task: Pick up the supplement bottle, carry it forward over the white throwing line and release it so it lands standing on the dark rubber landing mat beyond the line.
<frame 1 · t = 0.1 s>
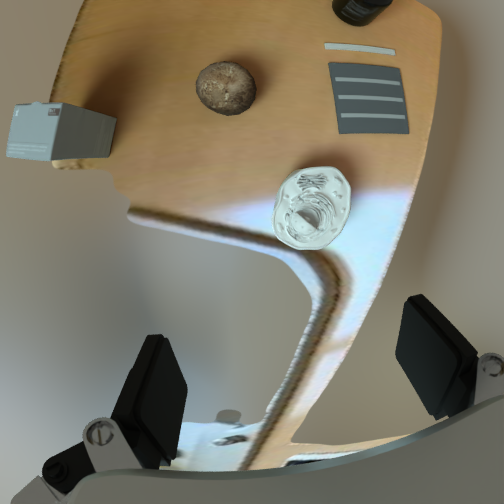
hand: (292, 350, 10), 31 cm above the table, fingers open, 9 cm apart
mushroom: (227, 93, 34), on the table
supplement bottle: (350, 11, 28), on the table
skincare box: (94, 133, 35), on the table
landing mat: (370, 98, 34), on the table
throwing line: (361, 48, 31), on the table
cell model: (305, 201, 40), on the table
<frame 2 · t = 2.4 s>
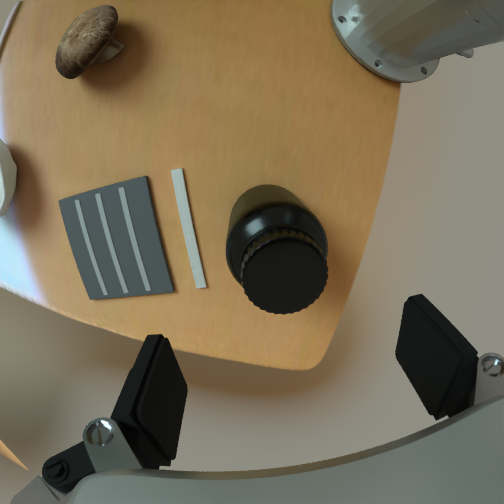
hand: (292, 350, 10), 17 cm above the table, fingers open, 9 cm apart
mushroom: (100, 48, 19), on the table
supplement bottle: (267, 218, 26), on the table
landing mat: (113, 243, 26), on the table
throwing line: (189, 231, 26), on the table
cell model: (5, 172, 23), on the table
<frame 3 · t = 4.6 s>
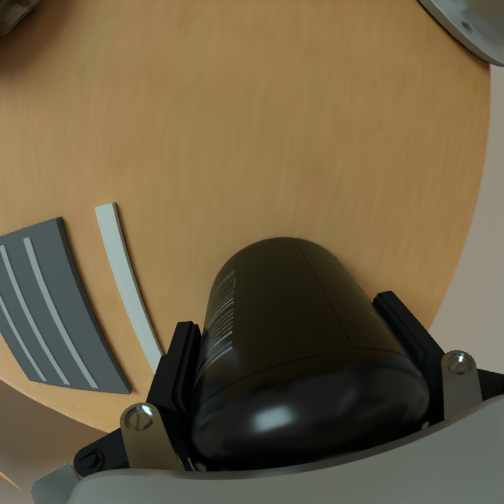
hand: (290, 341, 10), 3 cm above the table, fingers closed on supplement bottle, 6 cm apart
mushroom: (16, 16, 7), on the table
supplement bottle: (281, 297, 14), on the table, touching gripper
landing mat: (36, 319, 14), on the table
throwing line: (139, 314, 14), on the table
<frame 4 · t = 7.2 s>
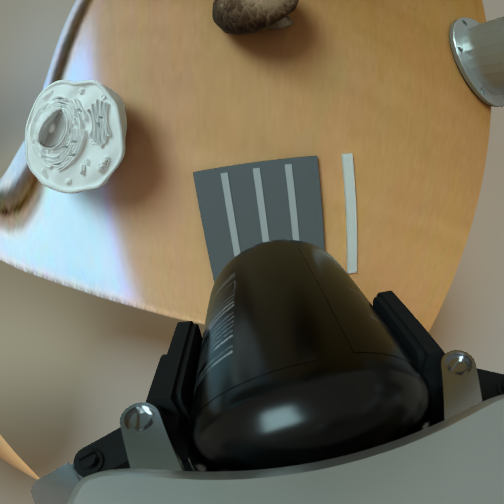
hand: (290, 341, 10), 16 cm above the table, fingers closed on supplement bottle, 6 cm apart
mushroom: (254, 15, 19), on the table
supplement bottle: (281, 299, 14), point 13 cm above the table, touching gripper
landing mat: (263, 226, 26), on the table
throwing line: (350, 215, 26), on the table
cell model: (95, 135, 22), on the table
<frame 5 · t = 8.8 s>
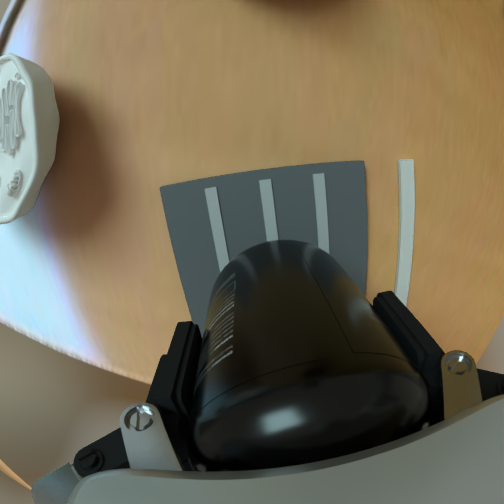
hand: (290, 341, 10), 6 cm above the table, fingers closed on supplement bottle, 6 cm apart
supplement bottle: (281, 299, 14), point 3 cm above the table, touching gripper
landing mat: (275, 273, 16), on the table
throwing line: (404, 253, 16), on the table
cell model: (29, 135, 13), on the table
when the fingers open (5 cm above the table, at t = 10.0 s): supplement bottle drops 1 cm, resting on landing mat.
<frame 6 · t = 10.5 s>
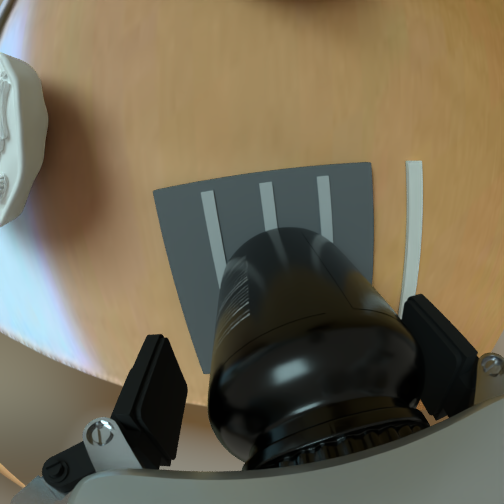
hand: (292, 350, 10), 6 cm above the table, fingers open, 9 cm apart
supplement bottle: (285, 283, 15), resting on landing mat
landing mat: (277, 281, 15), on the table
throwing line: (410, 259, 15), on the table
cell model: (19, 136, 12), on the table
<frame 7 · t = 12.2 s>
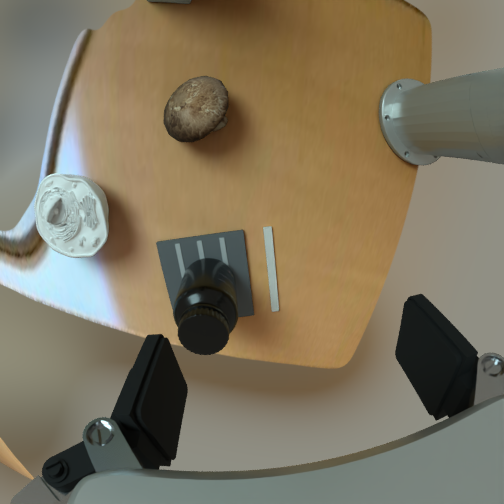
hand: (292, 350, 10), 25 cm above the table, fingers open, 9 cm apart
mushroom: (198, 112, 30), on the table
supplement bottle: (210, 280, 36), resting on landing mat
landing mat: (207, 279, 36), on the table
throwing line: (271, 271, 36), on the table
cell model: (86, 208, 32), on the table
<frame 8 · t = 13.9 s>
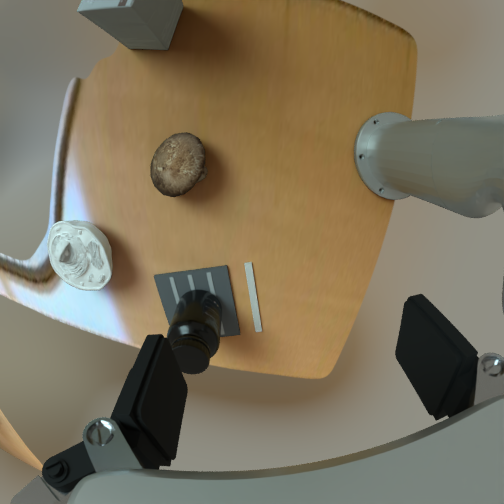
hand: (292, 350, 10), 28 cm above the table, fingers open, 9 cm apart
mushroom: (182, 163, 34), on the table
supplement bottle: (200, 306, 41), resting on landing mat
skincare box: (158, 28, 27), on the table
landing mat: (198, 305, 42), on the table
throwing line: (253, 299, 41), on the table
cell model: (92, 245, 38), on the table
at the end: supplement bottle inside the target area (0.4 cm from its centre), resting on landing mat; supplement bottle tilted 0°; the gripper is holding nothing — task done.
